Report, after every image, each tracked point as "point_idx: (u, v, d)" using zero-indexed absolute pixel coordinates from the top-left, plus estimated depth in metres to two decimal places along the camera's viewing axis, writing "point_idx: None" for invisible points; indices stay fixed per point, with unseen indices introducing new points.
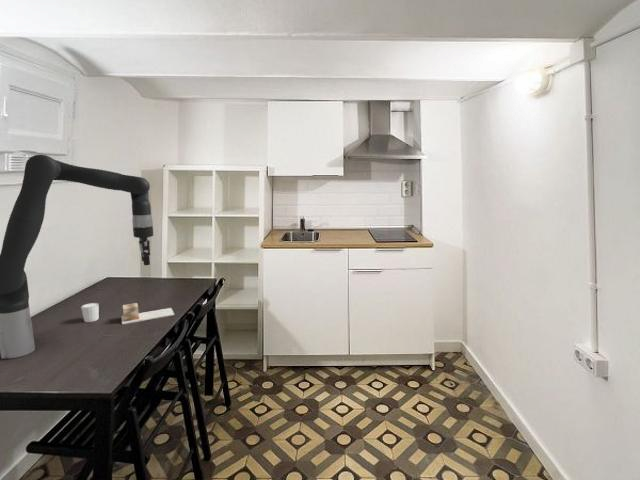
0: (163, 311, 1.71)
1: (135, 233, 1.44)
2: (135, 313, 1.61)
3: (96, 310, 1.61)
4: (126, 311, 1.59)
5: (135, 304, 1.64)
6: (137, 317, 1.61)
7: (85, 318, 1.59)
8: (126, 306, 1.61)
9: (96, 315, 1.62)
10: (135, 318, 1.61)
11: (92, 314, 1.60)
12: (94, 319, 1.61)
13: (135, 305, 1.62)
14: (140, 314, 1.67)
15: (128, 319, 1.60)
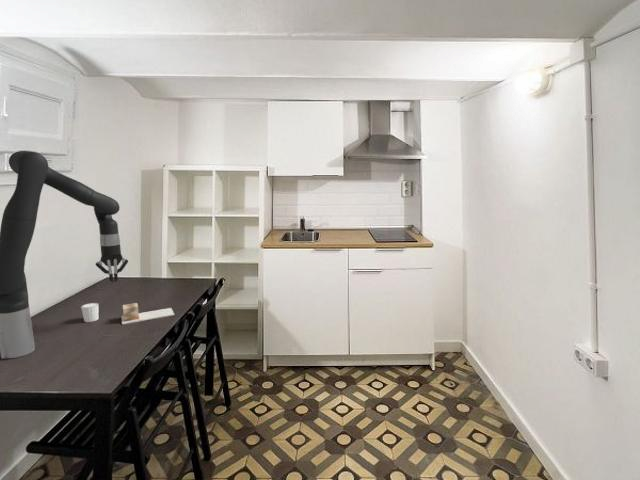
0: (163, 311, 1.71)
1: (116, 251, 1.53)
2: (135, 313, 1.61)
3: (96, 310, 1.61)
4: (126, 311, 1.59)
5: (135, 304, 1.64)
6: (137, 317, 1.61)
7: (85, 318, 1.59)
8: (126, 306, 1.61)
9: (96, 315, 1.62)
10: (135, 318, 1.61)
11: (92, 314, 1.60)
12: (94, 319, 1.61)
13: (135, 305, 1.62)
14: (140, 314, 1.67)
15: (128, 319, 1.60)
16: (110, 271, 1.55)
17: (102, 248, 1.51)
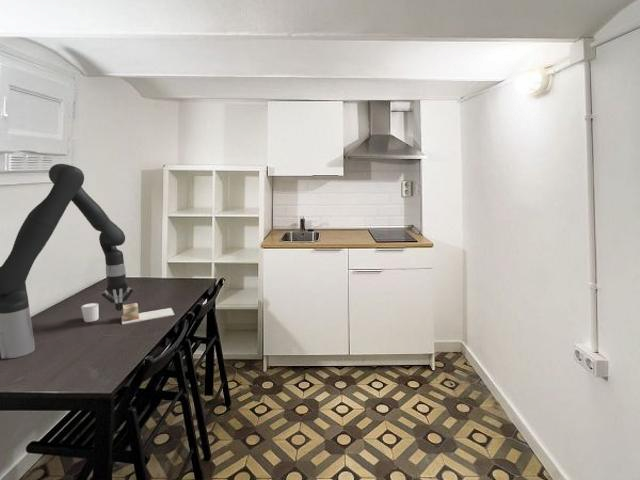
0: (163, 311, 1.71)
1: (122, 280, 1.56)
2: (135, 313, 1.61)
3: (96, 310, 1.61)
4: (126, 311, 1.59)
5: (135, 304, 1.64)
6: (137, 317, 1.61)
7: (85, 318, 1.59)
8: (126, 306, 1.61)
9: (96, 315, 1.62)
10: (135, 318, 1.61)
11: (92, 314, 1.60)
12: (94, 319, 1.61)
13: (135, 305, 1.62)
14: (140, 314, 1.67)
15: (128, 319, 1.60)
16: (116, 300, 1.58)
17: (108, 278, 1.54)
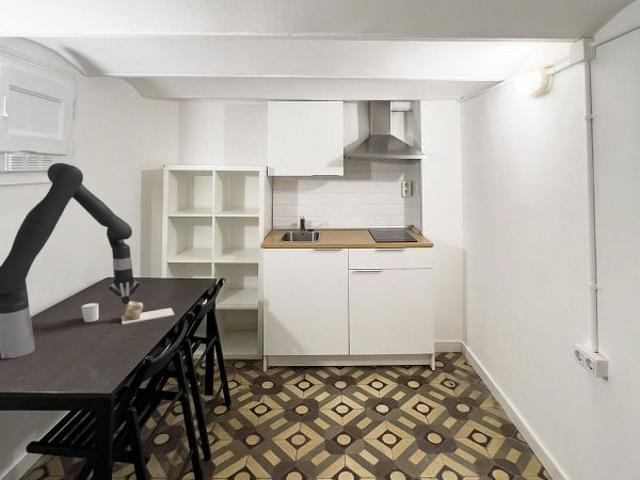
0: (163, 311, 1.71)
1: (128, 274, 1.57)
2: (137, 312, 1.61)
3: (96, 310, 1.61)
4: (130, 307, 1.59)
5: (140, 303, 1.65)
6: (138, 317, 1.62)
7: (85, 318, 1.59)
8: (132, 303, 1.62)
9: (96, 315, 1.62)
10: (136, 317, 1.61)
11: (92, 314, 1.60)
12: (94, 319, 1.61)
13: (140, 304, 1.64)
14: None
15: (129, 316, 1.60)
16: (123, 294, 1.59)
17: (115, 272, 1.55)
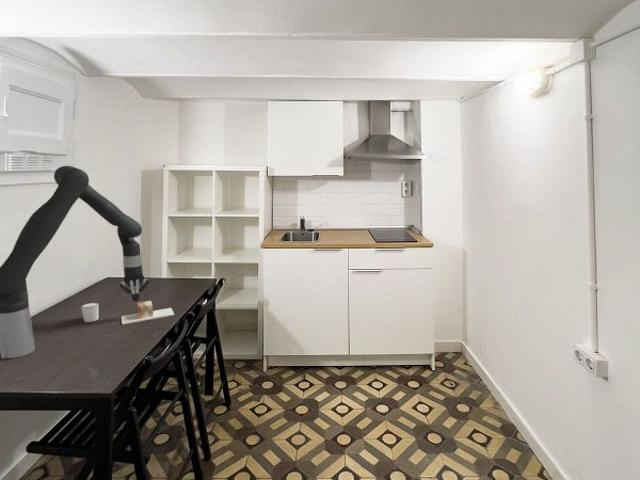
0: (163, 311, 1.71)
1: (138, 271, 1.59)
2: (145, 315, 1.63)
3: (96, 310, 1.61)
4: (149, 307, 1.63)
5: None
6: (141, 317, 1.62)
7: (85, 318, 1.59)
8: None
9: (96, 315, 1.62)
10: (140, 315, 1.62)
11: (92, 314, 1.60)
12: (94, 319, 1.61)
13: None
14: None
15: (140, 309, 1.62)
16: (133, 291, 1.61)
17: (125, 269, 1.57)
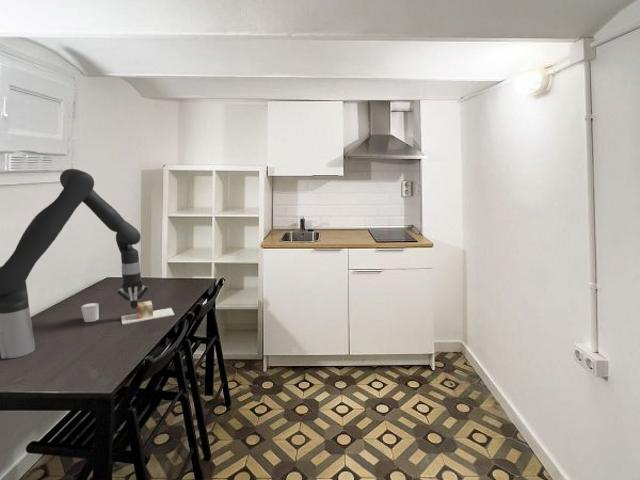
0: (163, 311, 1.71)
1: (137, 279, 1.59)
2: (145, 315, 1.63)
3: (96, 310, 1.61)
4: (149, 307, 1.63)
5: None
6: (141, 317, 1.62)
7: (85, 318, 1.59)
8: None
9: (96, 315, 1.62)
10: (140, 315, 1.62)
11: (92, 314, 1.60)
12: (94, 319, 1.61)
13: None
14: None
15: (140, 309, 1.62)
16: (131, 298, 1.61)
17: (124, 276, 1.57)
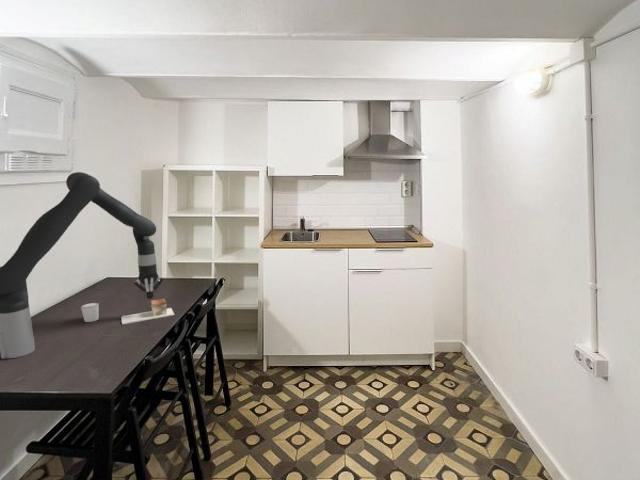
0: None
1: (153, 270, 1.62)
2: (155, 309, 1.65)
3: (96, 310, 1.61)
4: (164, 311, 1.67)
5: None
6: (153, 305, 1.64)
7: (85, 318, 1.59)
8: None
9: (96, 315, 1.62)
10: (155, 305, 1.65)
11: (92, 314, 1.60)
12: (94, 319, 1.61)
13: None
14: (140, 314, 1.67)
15: (162, 304, 1.66)
16: (147, 289, 1.64)
17: (140, 268, 1.60)
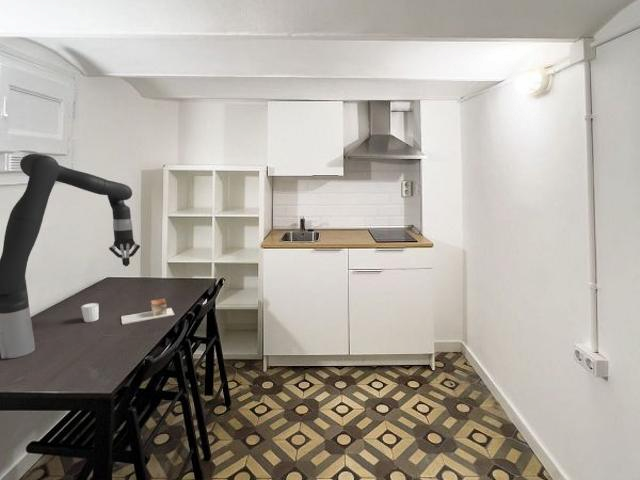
0: None
1: (129, 235, 1.57)
2: (155, 309, 1.65)
3: (96, 310, 1.61)
4: (164, 311, 1.67)
5: None
6: (153, 305, 1.64)
7: (85, 318, 1.59)
8: None
9: (96, 315, 1.62)
10: (155, 305, 1.65)
11: (92, 314, 1.60)
12: (94, 319, 1.61)
13: None
14: (140, 314, 1.67)
15: (162, 304, 1.66)
16: (123, 255, 1.59)
17: (115, 232, 1.55)
